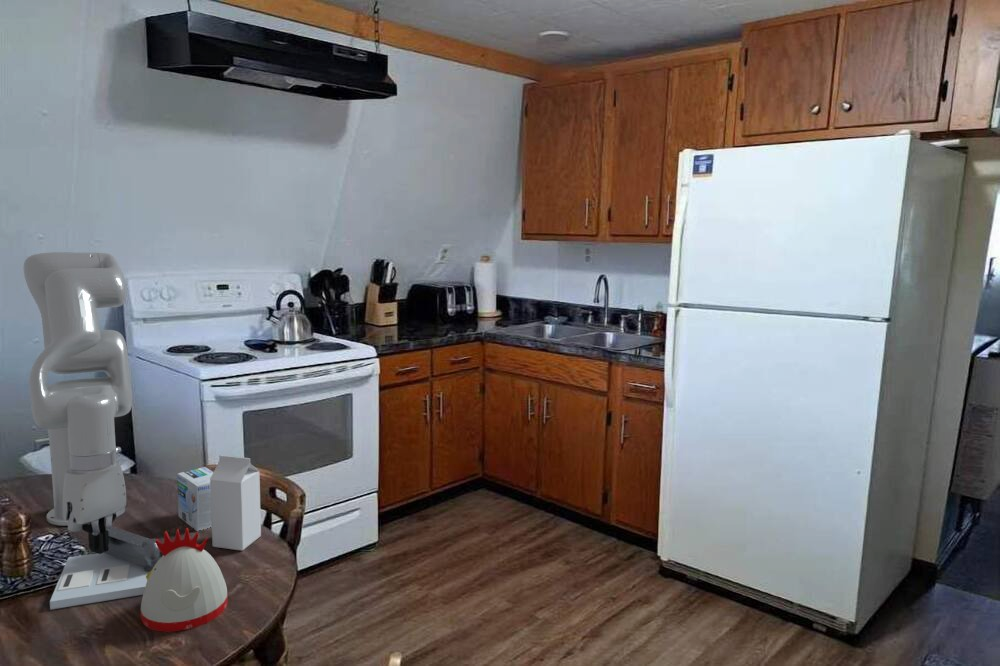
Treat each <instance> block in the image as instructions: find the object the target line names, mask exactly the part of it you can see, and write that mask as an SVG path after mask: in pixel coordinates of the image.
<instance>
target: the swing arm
mask: <svg viewBox="0 0 1000 666" xmlns="http://www.w3.org/2000/svg"><path fill="white" fill-rule="evenodd" d="M108 533H109V544H108V547H109V550H108V551H106V552H103V553H106V554H108V555H111V556H114V557H117V558H119V559H122V560H125V561H128V562H131V563H133V564H136V565H139V566H142V567H143V569H144V571H146V572H150V571H151V570H152V569H153V567H154V566H155V564H156V562H157V561H158V560H159V559H160V558H161V557H162V556H161V551H160V550H159V548H158V547H157V545H156V542H155V541H156V539H157V540H159V541H160V542H161V540H160V539H159V538H148V537H145V536H143V535H139V534H137V533H133V532H130V531H127V530H124V529H121V528H118V527H116V526H111V529H110V530H109V531H108Z"/></svg>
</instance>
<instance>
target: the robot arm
mask: <svg viewBox="0 0 1000 666" xmlns="http://www.w3.org/2000/svg"><path fill="white" fill-rule="evenodd" d="M23 274H24V279H25V283H26V285H27V289H28V290H29V293H30V294H31V296H32V298H33V300H34V302H35V304H36V306H37V307H38V309H39V312H40V316H41V324H42V336H43V344H44V349H43V350H42V352H40V354H39V355H38V356H37V358H36V359H35V361H34V362H33V365H32V367H31V370H30V372H29V373H30V374H29V381H28V382H29V383H28V384H29V385H28V387H29V395H30V396H29V397H30V406H31V415H32V418H33V421H34V423H35V424H36V426H38V428H41V429H43V430H47V433H48V434H47V435H48V441H49V454H50V465H51V466H50V467H51V479H52V480H51V483H52V494H53V495H52V497H53V508H52V509H50V511H48V513H46V521H47V522H48V523H49V524H50V525H53V526H60V527H61V526H62V527H63V526H64V527H66V526H67V531H70V532H72V533H74V532H75V533H76V532H82V531H83V532H84V533H87V535H88V547H89V550H90V551H91V552H92V553H94V554H97V553H98V554H102V553H103V552H106V551H108V550H109V547H108V544H109V533H108V531H109V530H110V529H111V526H112V525H113V523H114V522H115V520H116V519H117V518H118V517H120V516H121V515H123V514H124V513H126V505H127V491H126V490H127V489H126V488H127V487H126V483H125V477H124V472H123V470H122V469H123V468H122V466H121V464H120V461H118V460H117V458H118V454H121V453H122V448H121V447H120V446H116V432H115V431H116V430H115V427H116V426H115V418H118V417H119V418H120V417H123V416H125V415H127V414H129V413H130V412H131V410H132V407H133V392H132V391H133V390H132V382H131V381H132V380H131V373H130V364H129V363H130V361H129V354H128V347H127V343H126V340H125V337H124V336H123V334H121V332H120V331H117V330H113V329H100V324H99V318H98V309H101V308H119V307H122V306H123V305H124V304H125V302H126V300H127V294H128V293H127V283H126V279H125V277H124V273H123V272H122V268H120V265H119V264H118V262H117V259H116V258H115V257H114V255H112V254H109V253H107V252H106V253H105V252H68V251H67V252H63V251H62V252H60V251H59V252H41V253H35V254H32V255H30V256H27V258H26V259H25V260H24V262H23ZM49 372H52V373H54V374H57V375H73V374H85V373H96V372H97V373H98V372H104V373H105V374H106V375H107V376H102V377H92V378H91V377H90V378H78V379H77V378H76V379H69V380H61V381H58V382H54V383H51V384H49V385H47V378H48V374H49Z"/></svg>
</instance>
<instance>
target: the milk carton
mask: <svg viewBox="0 0 1000 666" xmlns="http://www.w3.org/2000/svg"><path fill="white" fill-rule="evenodd" d="M218 458H219V461H218V463H217V465H216V466H215V468H214V470H213V471H212V472H213V474H212V476H211V478H210V489H211V517H212V527H211V540H212V542H211V543H212V544H211V545H212V547H214V548H219V549H220V548H222V549H228V550H235V551H244V550H246V549H247V548H248V547H249V546H250V545H252V544H253V543H254V542H256V540H258V539H259V538H260V537H262V524H261V523H262V522H261V486H260V485H261V484H260V483H261V480H260V479H261V478H260V475H261V474H260V470H258V468H257V467H255V466H254V465H253V464H252V463H251V458H249V457H238V456H231V455H230V456H229V455H221V454H220V455H219V457H218Z"/></svg>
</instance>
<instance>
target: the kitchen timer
mask: <svg viewBox="0 0 1000 666" xmlns="http://www.w3.org/2000/svg"><path fill="white" fill-rule="evenodd" d="M189 531H190V530H189V528H188V527H186V529H185V532H184V537H183V539H182V538H181V535H180V530H179V528H177V529H176V533H175V537H174V540H171V538H170V536H169V534H168V531H167V530H165V531H164V535H163V537H164V539H163V542H161V540H160V539H159V540H160V541H159V540H157V539H158V538H155V539H156V541H155V542H156V545H157V547H158V548H159V550H160V553H161V554H162V556H161V558H160V559H159V560H158V561H157V562H156V564H155V566H154V567H153V569H152V570H151V571H150V572H149V573H148V574H147V575H146V578H147V583H146V586H145V590H144V594H143V595H142V599H141V603H140V620H141V622H142V624H143V625H144V626H146V627H147V628H148V629H150V630H155V631H157V632H171V631H172V632H181V631H180V630H182V631H186V630H190V628H191V629H194V628H197V627H200V626H203V625H204V624H208V623H209V622H212V621H213V620H214V619H216V618H218V617H219V616H220V615H221V614H222V613H224V611H225V610H226V608H227V606H228V587H227V584H226V580H225V578H224V576H223V573H222V570H221V568H220V567H219V565H218V563H217V561H216V560H215V559H214V557H213V556H212V555H211V554H210V553H209V552H208V551H207V550H205V547H206V545H207V541H208V537H205V539H203V541H202V542H201V544H198V543H197V542H198V537H199V531H196V533H195V535H194V536H193V537H192V538H191V535H190V532H189ZM224 609H225V610H224ZM172 632H171V633H172Z"/></svg>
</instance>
